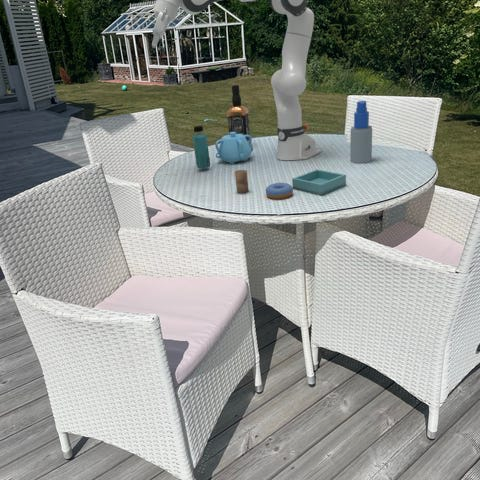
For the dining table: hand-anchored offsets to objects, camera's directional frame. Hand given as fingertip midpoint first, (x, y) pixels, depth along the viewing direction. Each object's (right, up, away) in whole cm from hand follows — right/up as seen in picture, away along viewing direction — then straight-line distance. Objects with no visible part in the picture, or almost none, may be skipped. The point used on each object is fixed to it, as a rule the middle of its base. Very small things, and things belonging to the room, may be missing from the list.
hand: (153, 46), depth 180 cm
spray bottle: (+87, -43, +15) cm, 99 cm away
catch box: (+65, -58, -11) cm, 87 cm away
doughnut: (+49, -62, -15) cm, 80 cm away
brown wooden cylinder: (+36, -59, -8) cm, 69 cm away
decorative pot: (+33, -39, +37) cm, 63 cm away
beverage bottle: (+18, -46, +26) cm, 56 cm away
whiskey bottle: (+35, -29, +59) cm, 75 cm away
